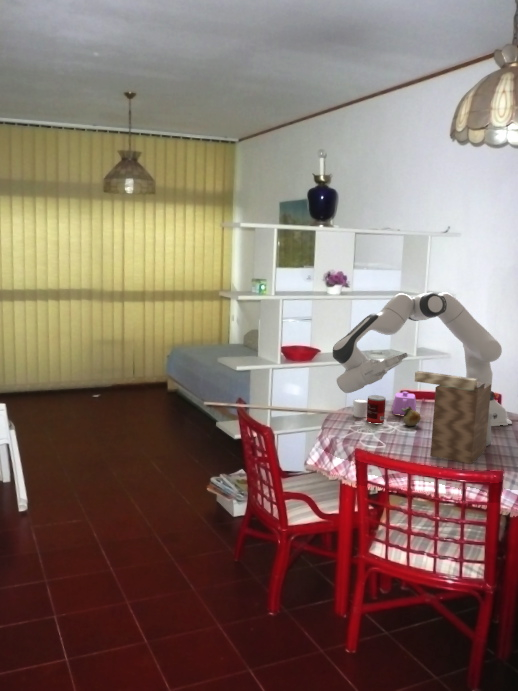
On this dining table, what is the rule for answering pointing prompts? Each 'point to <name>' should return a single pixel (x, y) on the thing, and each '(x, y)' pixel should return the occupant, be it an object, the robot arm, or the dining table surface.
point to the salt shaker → (489, 431)
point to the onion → (411, 417)
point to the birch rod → (446, 380)
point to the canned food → (376, 409)
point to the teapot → (403, 402)
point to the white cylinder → (360, 407)
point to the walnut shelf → (460, 422)
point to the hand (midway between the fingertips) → (402, 356)
